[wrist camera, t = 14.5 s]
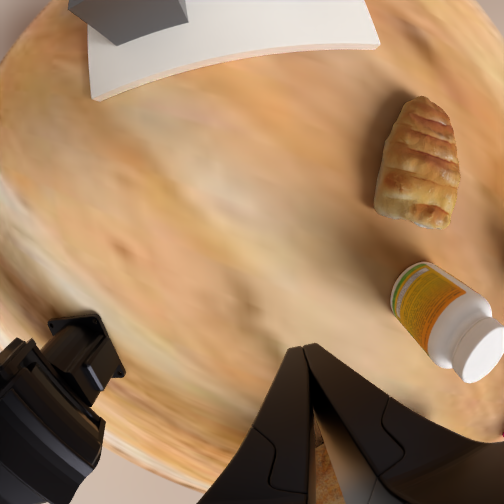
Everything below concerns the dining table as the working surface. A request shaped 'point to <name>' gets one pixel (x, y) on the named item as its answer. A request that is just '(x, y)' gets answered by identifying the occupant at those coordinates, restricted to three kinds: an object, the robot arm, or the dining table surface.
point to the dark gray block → (129, 16)
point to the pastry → (419, 167)
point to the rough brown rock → (326, 479)
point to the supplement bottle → (448, 320)
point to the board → (227, 39)
